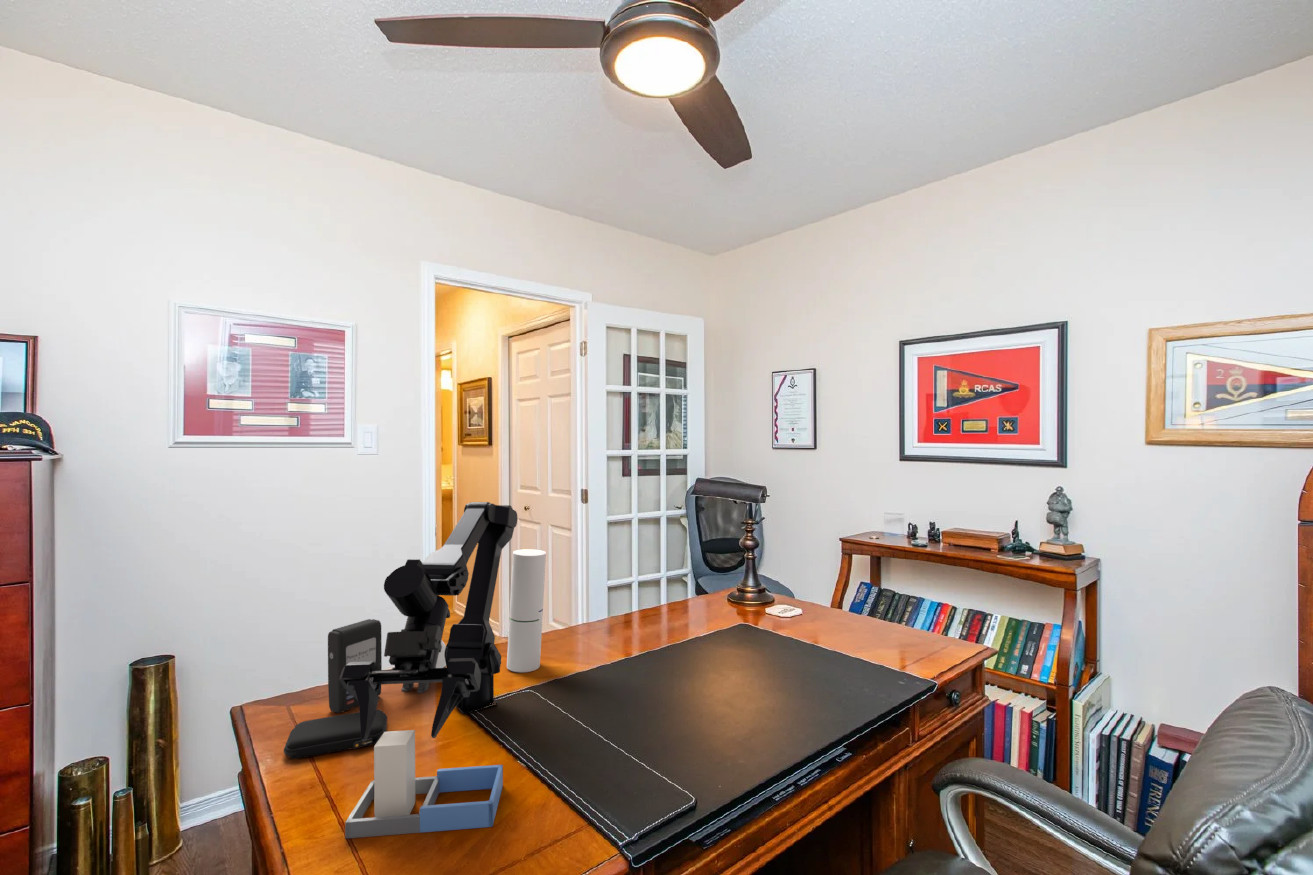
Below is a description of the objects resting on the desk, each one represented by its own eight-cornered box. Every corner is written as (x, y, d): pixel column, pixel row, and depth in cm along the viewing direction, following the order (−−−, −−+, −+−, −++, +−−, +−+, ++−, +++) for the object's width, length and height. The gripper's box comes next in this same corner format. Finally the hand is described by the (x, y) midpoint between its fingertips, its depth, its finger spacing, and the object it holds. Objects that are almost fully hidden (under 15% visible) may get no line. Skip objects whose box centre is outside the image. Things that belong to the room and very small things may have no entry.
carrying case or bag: (279, 769, 91) (385, 749, 97) (279, 749, 91) (385, 730, 97) (292, 737, 101) (387, 721, 106) (292, 719, 101) (387, 704, 106)
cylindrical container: (545, 662, 133) (551, 551, 133) (529, 674, 126) (536, 557, 126) (517, 657, 135) (523, 547, 135) (500, 668, 128) (506, 553, 128)
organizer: (345, 838, 74) (345, 814, 74) (371, 794, 83) (371, 773, 83) (492, 826, 76) (492, 803, 76) (502, 785, 86) (502, 764, 86)
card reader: (338, 716, 108) (338, 633, 108) (325, 711, 110) (325, 630, 110) (383, 697, 116) (383, 620, 116) (370, 693, 118) (370, 617, 118)
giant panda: (426, 672, 128) (426, 628, 128) (450, 674, 126) (449, 629, 127) (382, 702, 113) (381, 652, 113) (408, 704, 112) (407, 654, 112)
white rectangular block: (385, 804, 81) (384, 731, 81) (415, 802, 82) (414, 729, 82) (374, 823, 77) (374, 746, 77) (406, 821, 78) (406, 744, 78)
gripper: (344, 606, 86) (305, 718, 75) (476, 603, 87) (457, 712, 76) (367, 643, 93) (334, 749, 82) (487, 639, 95) (472, 743, 84)
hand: (398, 738), depth 81 cm, fingers open, 9 cm apart
